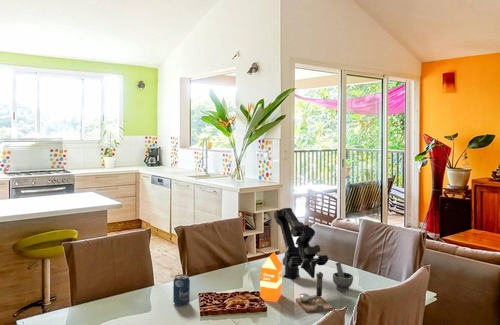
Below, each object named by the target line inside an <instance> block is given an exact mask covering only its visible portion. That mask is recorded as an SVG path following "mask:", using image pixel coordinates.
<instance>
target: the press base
mask: <svg viewBox="0 0 500 325" xmlns="http://www.w3.org/2000/svg"><path fill="white" fill-rule="evenodd" d="M295 302H296V304H298V306H299V307H300V308H301V309H303V311H304V312H306V313H307V314H312V313H321V312H323V313H324V312H330V311H331V310H332V311H334V307H333V305H331V304H330V303H329V302H328V301H327V300H325V299H324V298H323V297H321V296H320V299H315V300H311V301H309V302H307V303H303V302H300V297H299V298H295Z"/></svg>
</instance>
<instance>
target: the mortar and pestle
mask: <svg viewBox="0 0 500 325" xmlns="http://www.w3.org/2000/svg"><path fill="white" fill-rule="evenodd" d="M335 266H336V272H334V273H333V274H332V281H333V283H334V285H335V286H336V288H335V289H336V290H337V291H338V292H341V293H342V292H345V293H346V292H349V290H350V287H351V286H352V284H353V281H354V274H352V273H349V272H344V270H343V268H342V262H341V261H340V262H338V261H337V262H336V263H335Z"/></svg>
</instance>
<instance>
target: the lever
mask: <svg viewBox="0 0 500 325" xmlns="http://www.w3.org/2000/svg"><path fill="white" fill-rule="evenodd" d="M315 274H316V276H315V277H316V293H315V294H314V295H310V294H308V293H299V298H300V302H303V303H307V302H309V301H311V300H315V299H320V296H323V278H324V274H323V272H321V271H318V272H316V273H315Z"/></svg>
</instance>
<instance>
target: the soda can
mask: <svg viewBox="0 0 500 325" xmlns="http://www.w3.org/2000/svg"><path fill="white" fill-rule="evenodd" d="M190 281H191V280H190V278H189V275H187V274H184V273H183V274H177V275H175V277H174V278H173V290H172V291H173V292H172V293H173V303H174V305H175V306H177V307H185V306H188V304H189V303H190V292H191V291H190V288H191V287H190V286H191V284H190V283H191V282H190Z"/></svg>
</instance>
